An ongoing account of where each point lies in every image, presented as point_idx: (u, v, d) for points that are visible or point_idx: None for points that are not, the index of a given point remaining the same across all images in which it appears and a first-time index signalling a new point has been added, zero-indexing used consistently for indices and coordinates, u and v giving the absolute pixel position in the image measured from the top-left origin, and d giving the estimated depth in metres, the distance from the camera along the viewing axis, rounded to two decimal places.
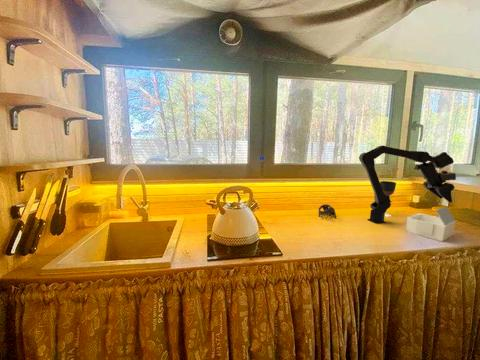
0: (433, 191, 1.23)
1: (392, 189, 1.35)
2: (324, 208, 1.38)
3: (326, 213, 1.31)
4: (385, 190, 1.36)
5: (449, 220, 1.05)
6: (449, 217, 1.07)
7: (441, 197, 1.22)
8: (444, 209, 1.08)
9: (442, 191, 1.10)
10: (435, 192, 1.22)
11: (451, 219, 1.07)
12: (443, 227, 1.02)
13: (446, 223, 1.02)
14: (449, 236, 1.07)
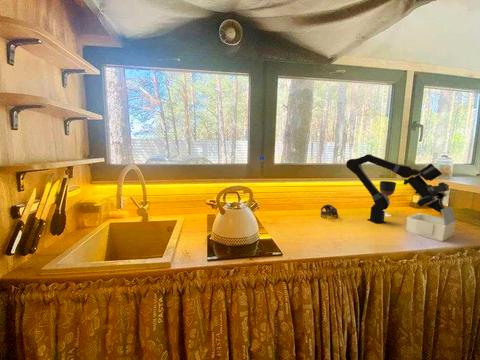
0: None
1: (392, 189, 1.35)
2: (326, 208, 1.38)
3: (328, 213, 1.30)
4: (385, 190, 1.36)
5: (450, 220, 1.05)
6: (450, 217, 1.06)
7: None
8: (449, 208, 1.07)
9: (420, 204, 1.06)
10: None
11: (452, 219, 1.06)
12: (443, 227, 1.02)
13: (447, 223, 1.02)
14: (449, 236, 1.07)
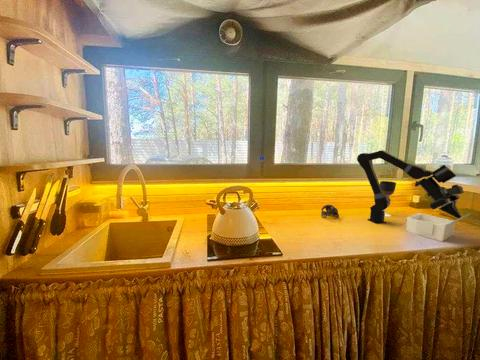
0: None
1: (392, 189, 1.35)
2: (327, 208, 1.38)
3: (329, 213, 1.30)
4: (385, 190, 1.36)
5: None
6: None
7: None
8: None
9: (433, 207, 1.02)
10: None
11: None
12: (443, 227, 1.02)
13: None
14: (449, 236, 1.07)
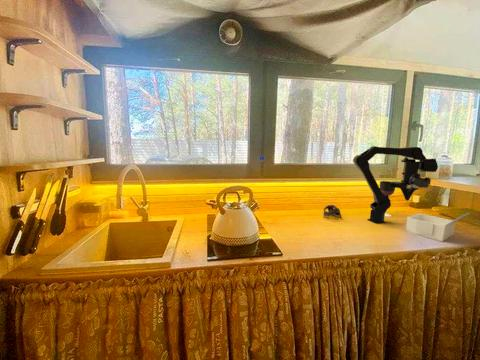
0: None
1: (392, 189, 1.35)
2: (329, 209, 1.37)
3: (332, 214, 1.29)
4: (385, 190, 1.36)
5: (452, 222, 1.04)
6: None
7: (407, 199, 1.23)
8: (465, 215, 1.02)
9: (391, 185, 1.21)
10: None
11: (455, 221, 1.06)
12: (443, 227, 1.02)
13: None
14: (449, 236, 1.07)
